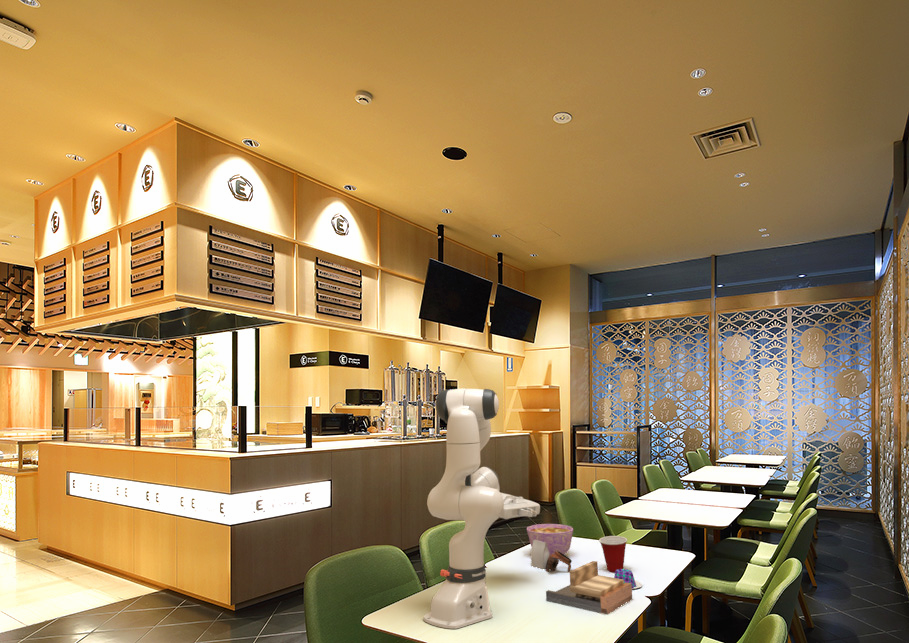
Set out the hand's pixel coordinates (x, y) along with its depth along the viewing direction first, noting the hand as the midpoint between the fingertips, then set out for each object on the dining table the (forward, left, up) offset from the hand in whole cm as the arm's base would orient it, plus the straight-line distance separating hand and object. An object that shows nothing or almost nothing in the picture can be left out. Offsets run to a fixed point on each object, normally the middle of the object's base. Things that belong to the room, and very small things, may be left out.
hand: (534, 514), depth 213 cm
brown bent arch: (+25, +7, -26) cm, 37 cm away
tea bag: (+26, +15, -26) cm, 40 cm away
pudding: (+23, -22, -26) cm, 41 cm away
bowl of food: (+43, +21, -26) cm, 55 cm away
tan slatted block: (+1, -23, -24) cm, 33 cm away
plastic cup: (+38, -11, -26) cm, 47 cm away
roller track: (+1, -20, -26) cm, 32 cm away
